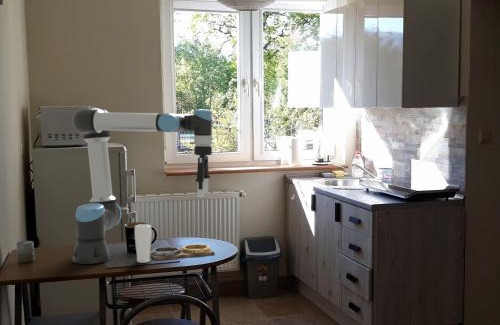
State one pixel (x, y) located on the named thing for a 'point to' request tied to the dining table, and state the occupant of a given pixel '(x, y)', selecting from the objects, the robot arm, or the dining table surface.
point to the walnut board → (181, 254)
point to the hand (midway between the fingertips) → (203, 195)
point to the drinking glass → (143, 242)
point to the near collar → (174, 250)
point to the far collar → (188, 249)
